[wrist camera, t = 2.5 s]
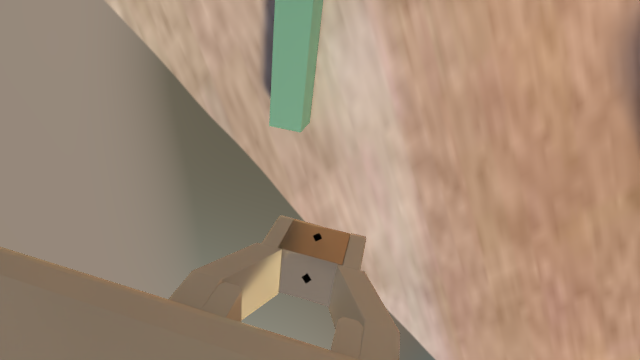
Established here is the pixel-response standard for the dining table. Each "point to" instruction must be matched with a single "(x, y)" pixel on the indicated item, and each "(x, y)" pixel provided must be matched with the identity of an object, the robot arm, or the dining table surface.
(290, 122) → the teal leg
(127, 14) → the dining table surface
